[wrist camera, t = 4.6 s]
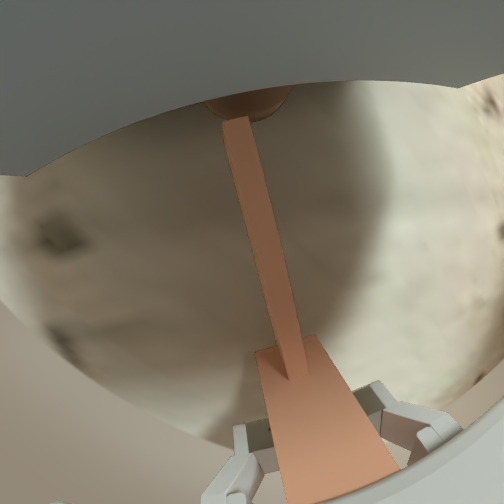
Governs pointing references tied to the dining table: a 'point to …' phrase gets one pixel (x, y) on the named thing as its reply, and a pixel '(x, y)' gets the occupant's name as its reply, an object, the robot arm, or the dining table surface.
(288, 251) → the dining table surface
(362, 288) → the dining table surface
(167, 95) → the grey block
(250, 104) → the brown round piece
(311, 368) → the square headed mallet
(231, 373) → the dining table surface
